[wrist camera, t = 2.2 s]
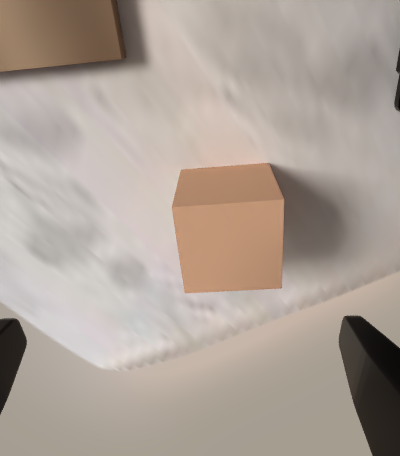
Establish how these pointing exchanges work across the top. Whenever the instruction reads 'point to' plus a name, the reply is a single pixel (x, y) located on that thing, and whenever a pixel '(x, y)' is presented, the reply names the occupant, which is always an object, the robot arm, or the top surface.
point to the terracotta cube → (229, 228)
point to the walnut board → (58, 33)
